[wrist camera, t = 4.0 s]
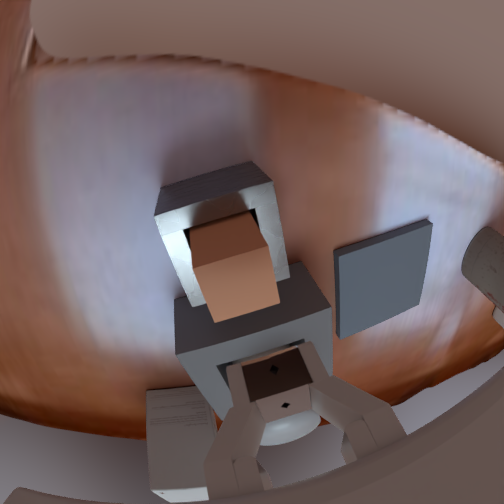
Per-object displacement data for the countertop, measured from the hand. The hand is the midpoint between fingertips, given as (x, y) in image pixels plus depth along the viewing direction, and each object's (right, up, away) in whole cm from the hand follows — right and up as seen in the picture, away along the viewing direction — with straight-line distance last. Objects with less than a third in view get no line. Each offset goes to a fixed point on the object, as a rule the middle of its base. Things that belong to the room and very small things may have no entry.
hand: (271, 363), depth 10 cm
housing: (-1, -3, +17) cm, 17 cm away
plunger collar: (-3, +6, +11) cm, 13 cm away
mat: (+13, +1, +18) cm, 22 cm away
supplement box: (-9, -14, +22) cm, 28 cm away
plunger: (-3, +5, +9) cm, 11 cm away
